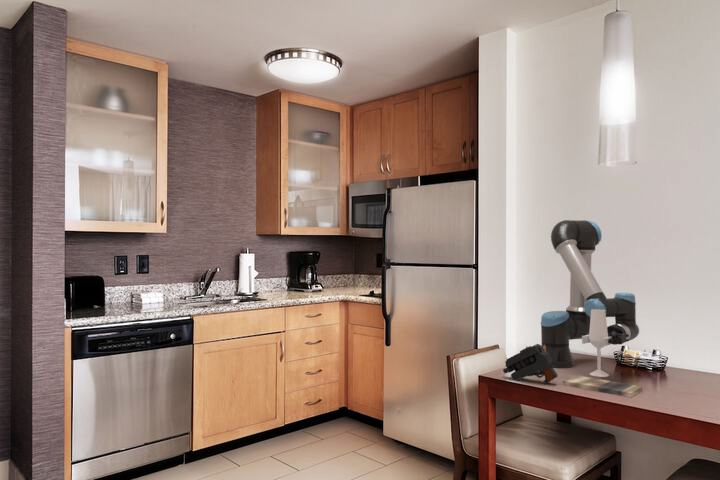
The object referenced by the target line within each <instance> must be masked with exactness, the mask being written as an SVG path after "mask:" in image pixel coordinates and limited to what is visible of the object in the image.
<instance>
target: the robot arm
mask: <svg viewBox="0 0 720 480" xmlns="http://www.w3.org/2000/svg"><path fill="white" fill-rule="evenodd" d="M550 239H551V240H550V241H551V245H552V247H553V249H554V252H555V253H557V254H559V255H560V257H561V258H562V261H563V262H564V264H565V266H566V268H567V269H568V271H569V272H570V280H569V281H570V285H569V286H570V287H569V290H570V291H569V305H568V306H567V307H566V308H565V310H551V311H547V312H544V313H543V314H542V315H541V318H540V319H541V321H540V327H541V328H540V329H541V336H540V337H541V340H540V341H541V346H542V349H543V346H544V345H545V347H546V352H548V353H549V354H550V356H551V358H552V360H553V365H551V366H552V368H563V369H564V368H571V367H574V366H575V364H574V363H575V362H574V361H575V360H574V358H573V355H572V354H573V353H572V352H571V349H570V341H571V340H581V344H583V345H585V344H591V342H590V341H589V330H590V318H591V310H592V309H600V310H605V314H606V318H614V319H615V323H614V324H611V325H609V326H608V325H607V331H608V337H606V338H603V339H602V342H603V346H604V347H607V346H610V345H619V346H620V345H622V344H624V343H626V342H627V343H628V342H629V341H632V340H634V339H635V338H637V337H639V336H638V335H639V334H640V327H639V325H638V324H637V320H636V317H637V315H636V314H637V313H636V310H637V309H636V305H637V304H636V295H635V294H634V293H631V292H617V293H615V294H614V297H613V298H612V297H611V298H609V297H606V294H605V292H603V289H602V288H601V286H600V284H599V283H598V281H597V279H596V277H595V276H594V273H593V272H592V254H593V253H594V252H596V246H598V245H599V244H600V242H601V241H602V230H601V227H600V226H599V225H598V224H597V223H596V222H594V221H591V220H585V219H584V220H573V219H571V220H570V219H565V220H561V221H559V222H557V223H556V224H555V225H554V227H553V228H552V230H551V233H550Z"/></svg>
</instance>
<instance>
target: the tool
mask: <svg viewBox="0 0 720 480" xmlns="http://www.w3.org/2000/svg"><path fill="white" fill-rule="evenodd" d="M530 346H531V345H529V346H527V348H526V347H525V348H523V349H521V350H519V352H518V353H516V354H514V355H512V356H510V357H509V358H507V359H506V360H505V368H503V369H502V372H503V373H504V374H507V373H509V374H510V373H511V372H512V373H511V374H510V377H511V378H512V380H513V381H515V380H516V381H518V380H520V379H523V378H526V377H529V376H528V375H531V374H533V373H535V374H536V375H535V376H536V377H537V378H542V377H544V380H542V382H543V383H544V385H547V384H549V383H550V382H551V381H554V379H557V377H558V376H559V375H558V373H557V372H556V370H555V369H554V367H552V366H551V365H553V360H552V358H551V356H550V354H549V353H548V352H545V351H542V350H543V349H542V344H539V343H536V344H535V345H532V346H531V347H530ZM538 371H539V372H541V374H543V373H544V375H538V374H537V372H538Z"/></svg>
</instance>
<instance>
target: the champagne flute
mask: <svg viewBox="0 0 720 480" xmlns="http://www.w3.org/2000/svg"><path fill="white" fill-rule="evenodd" d="M607 323H608V322H607V317H606V314H605V310H600V309H592V310H591V318H590V330H589V341H590V344H591V345H592V346H593V347H595V348H596V358H597V359H596V361H597V362H596V363H597V365H596V366H597V367H596V368H597V369H596V370H594V371H592V372H590V373H589V375H590V376H593V377H600V378H602V377H603V378H607V377H609V376H610V374H608V373H607V372H605V371H604V370H602V366H601V365H602V362H601V361H602V360H601V359H602V357H601V356H602V354H601V353H602V351H601V349H603V348H604V347H605V346H603V342H602V339H603V338H606V337H608V331H607V327H608V325H607Z"/></svg>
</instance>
